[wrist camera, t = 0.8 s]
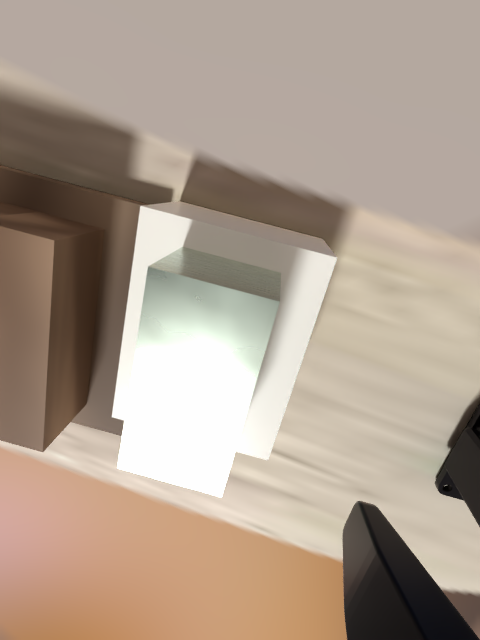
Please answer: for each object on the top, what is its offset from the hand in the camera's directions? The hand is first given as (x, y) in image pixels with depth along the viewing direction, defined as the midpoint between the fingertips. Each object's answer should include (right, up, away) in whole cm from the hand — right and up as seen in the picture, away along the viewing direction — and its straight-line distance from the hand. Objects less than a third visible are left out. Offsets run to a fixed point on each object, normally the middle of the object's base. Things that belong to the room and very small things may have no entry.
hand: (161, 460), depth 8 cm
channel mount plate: (-10, +4, +12) cm, 16 cm away
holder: (+1, +4, +10) cm, 11 cm away
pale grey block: (+1, +3, +9) cm, 10 cm away
